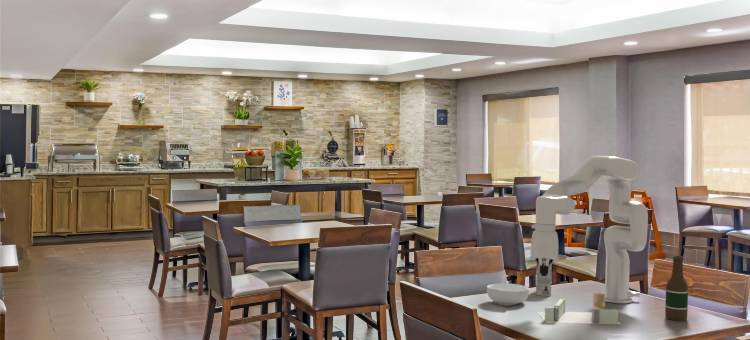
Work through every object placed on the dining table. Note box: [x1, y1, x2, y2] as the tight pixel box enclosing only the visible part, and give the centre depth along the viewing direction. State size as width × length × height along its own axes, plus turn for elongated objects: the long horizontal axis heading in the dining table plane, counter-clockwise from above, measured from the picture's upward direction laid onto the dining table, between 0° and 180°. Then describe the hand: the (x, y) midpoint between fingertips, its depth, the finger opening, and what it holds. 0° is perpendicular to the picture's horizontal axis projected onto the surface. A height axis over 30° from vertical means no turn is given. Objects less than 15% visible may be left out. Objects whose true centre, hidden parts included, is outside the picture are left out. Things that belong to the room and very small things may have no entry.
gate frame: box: [536, 306, 622, 325], centre depth 266 cm, size 27×17×5 cm, turn 91°
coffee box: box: [535, 258, 553, 297], centre depth 310 cm, size 9×6×16 cm
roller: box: [592, 292, 606, 309], centre depth 270 cm, size 4×4×8 cm
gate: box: [554, 297, 566, 319], centre depth 268 cm, size 14×2×5 cm, turn 156°
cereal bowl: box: [486, 283, 530, 307], centre depth 290 cm, size 17×17×7 cm
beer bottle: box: [664, 255, 689, 322], centre depth 268 cm, size 8×8×24 cm
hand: (544, 275), depth 273 cm, fingers closed
